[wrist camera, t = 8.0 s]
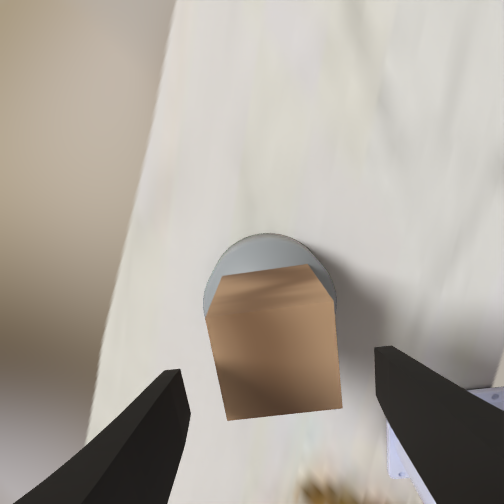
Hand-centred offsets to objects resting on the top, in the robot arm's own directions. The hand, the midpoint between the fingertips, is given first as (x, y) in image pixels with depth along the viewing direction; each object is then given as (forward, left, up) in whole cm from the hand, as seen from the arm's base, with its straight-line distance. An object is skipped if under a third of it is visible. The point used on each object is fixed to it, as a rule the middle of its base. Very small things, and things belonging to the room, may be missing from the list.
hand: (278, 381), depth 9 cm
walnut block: (0, 0, -6) cm, 6 cm away
